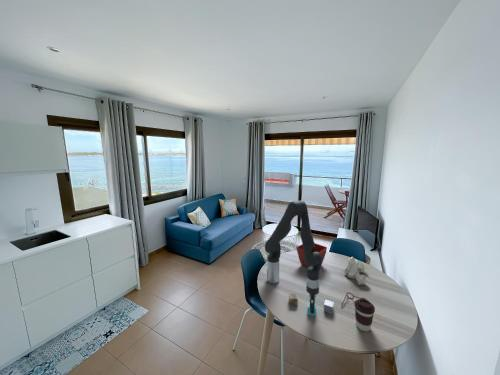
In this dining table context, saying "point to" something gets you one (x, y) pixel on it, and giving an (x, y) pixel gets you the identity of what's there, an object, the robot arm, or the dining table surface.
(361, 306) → the coffee cup
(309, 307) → the teal block
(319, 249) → the plant pot
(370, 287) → the dining table surface
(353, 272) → the chinaware
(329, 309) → the slate gray block
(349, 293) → the glasses
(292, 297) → the walnut block
